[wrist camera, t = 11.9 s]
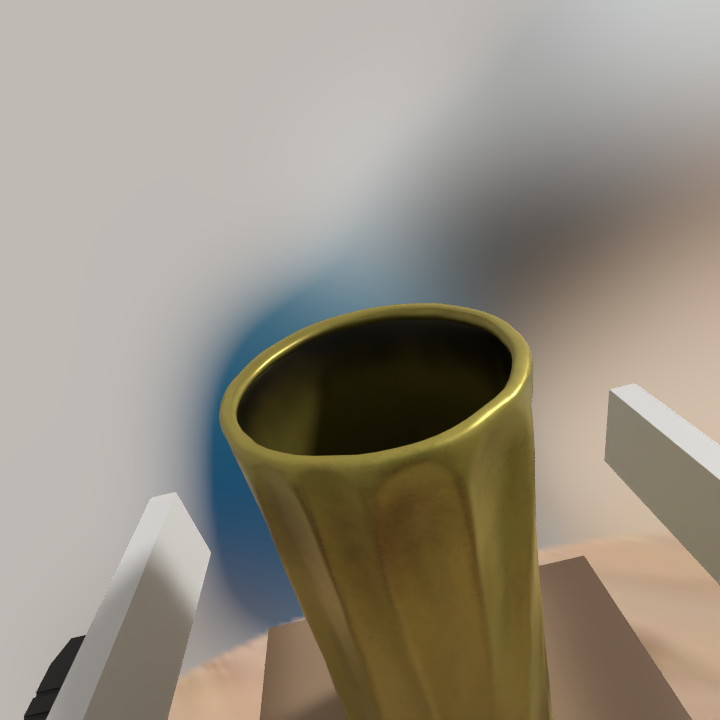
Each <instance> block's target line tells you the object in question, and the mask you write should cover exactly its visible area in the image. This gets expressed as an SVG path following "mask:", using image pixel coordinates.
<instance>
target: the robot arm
mask: <svg viewBox="0 0 720 720" xmlns="http://www.w3.org/2000/svg"><path fill="white" fill-rule="evenodd" d="M605 462H606V463H607V464H608V465H609V466H610V467H611V468H612V469H613V470H614V471H615V472H616V473H617V475H618V476H619V477H620V478H621V479H622V480H623V481H624V482H625V483H626V484H627V485H628V486H629V487H630V489H631V490H632V491H633V492H634V493H635V494H636V495H637V496H638V497H639V498H640V499H641V500H642V502H643V503H645V505H646V506H647V507H648V508H649V509H650V510H651V511H652V512H653V513H654V514H655V516H657V518H658V519H659V520H660V521H661V522H662V523H663V524H664V525H665V526H666V527H667V529H668V530H669V531H670V532H671V533H672V534H673V535H674V536H675V537H676V538H677V539H678V540H679V541H680V543H681V544H682V545H683V546H684V547H685V548H686V549H687V550H688V551H689V552H690V553H691V554H692V556H693V557H694V558H695V559H696V560H697V561H698V562H699V563H700V564H701V565H702V566H703V567H704V568H705V570H706V571H707V572H708V573H709V574H710V575H711V576H712V577H713V578H714V579H715V580H716V581H717V583H718V584H719V585H720V445H718V444H717V443H716V442H714V441H713V440H712V439H710V438H709V437H708V436H706V435H705V434H704V433H702V432H701V431H699V430H698V429H697V428H695V427H694V426H692V425H691V424H690V423H689V422H687V421H686V420H684V419H683V418H682V417H680V416H679V415H678V414H676V413H675V412H674V411H672V410H671V409H669V408H668V407H667V406H665V405H664V404H663V403H661V402H660V401H659V400H657V399H656V398H654V397H653V396H652V395H650V394H649V393H648V392H646V391H645V390H643V389H642V388H641V387H639V386H638V385H637V384H635V383H634V384H630V385H626V386H622V387H617V388H613V389H610V390H609V403H608V418H607V431H606V447H605ZM210 554H211V552H210V550H209V549H208V547H207V545H206V544H205V542H204V540H203V538H202V536H201V535H200V533H199V531H198V530H197V528H196V526H195V524H194V523H193V521H192V519H191V517H190V516H189V514H188V512H187V510H186V509H185V507H184V505H183V504H182V502H181V500H180V498H179V497H178V495H177V493H176V492H174V493H170V494H166V495H161V496H157V497H153V498H151V499H150V501H149V503H148V505H147V507H146V510H145V512H144V514H143V516H142V518H141V520H140V522H139V525H138V526H137V529H136V531H135V533H134V535H133V537H132V539H131V541H130V543H129V546H128V548H127V550H126V552H125V554H124V556H123V558H122V561H121V562H120V565H119V567H118V569H117V571H116V573H115V575H114V577H113V579H112V582H111V583H110V586H109V588H108V590H107V592H106V594H105V596H104V598H103V600H102V603H101V605H100V607H99V609H98V611H97V613H96V615H95V617H94V620H93V622H92V624H91V626H90V628H89V630H88V632H87V634H86V635H84V636H80V637H75V638H71V640H70V641H69V642H68V643H67V645H66V646H65V647H64V648H63V650H62V651H61V652H60V653H59V655H58V656H57V657H56V658H55V660H54V661H53V662H52V663H51V665H50V667H49V669H48V671H47V672H46V674H45V676H44V678H43V680H42V682H41V684H40V686H39V688H38V690H37V692H36V694H37V695H36V697H35V698H33V700H32V702H31V703H30V705H29V707H28V710H27V711H26V713H25V715H24V720H167V719H168V715H169V711H170V707H171V704H172V700H173V696H174V692H175V688H176V684H177V681H178V677H179V673H180V669H181V665H182V661H183V658H184V654H185V650H186V646H187V642H188V638H189V635H190V631H191V627H192V623H193V619H194V615H195V612H196V607H197V604H198V599H199V596H200V592H201V589H202V585H203V581H204V577H205V573H206V569H207V565H208V562H209V557H210Z"/></svg>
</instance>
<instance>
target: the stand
mask: <svg viewBox="0 0 720 720" xmlns="http://www.w3.org/2000/svg"><path fill="white" fill-rule="evenodd" d="M539 579H540V589H541V597H542V604H543V620H544V635H545V646H546V654H547V663H548V673H549V681H550V690H551V701H552V712H553V719H554V720H692V719H691V717H690V716H689V714H688V713H687V711H686V710H685V708H684V707H683V705H682V704H681V702H680V701H679V699H678V698H677V696H676V695H675V693H674V692H673V690H672V689H671V687H670V686H669V684H668V683H667V681H666V679H665V678H664V676H663V675H662V673H661V672H660V670H659V669H658V667H657V666H656V664H655V663H654V661H653V660H652V658H651V657H650V655H649V654H648V652H647V651H646V649H645V648H644V646H643V645H642V643H641V642H640V640H639V639H638V637H637V635H636V634H635V632H634V631H633V629H632V628H631V626H630V625H629V623H628V622H627V620H626V619H625V617H624V616H623V614H622V613H621V611H620V610H619V608H618V607H617V605H616V604H615V602H614V601H613V599H612V598H611V596H610V595H609V593H608V591H607V590H606V588H605V587H604V585H603V584H602V582H601V581H600V579H599V578H598V576H597V575H596V573H595V572H594V570H593V569H592V567H591V566H590V564H589V563H588V561H587V560H586V558H585V557H584V556H581V557H576V558H572V559H568V560H563V561H559V562H555V563H550V564H546V565H542V566H539ZM260 720H346V718H345V715H344V711H343V708H342V705H341V703H340V700H339V698H338V695H337V693H336V690H335V688H334V685H333V682H332V680H331V677H330V674H329V671H328V668H327V666H326V663H325V660H324V658H323V655H322V653H321V651H320V649H319V647H318V644H317V642H316V640H315V638H314V636H313V634H312V631H311V629H310V627H309V625H308V623H307V620H303V621H299V622H294V623H290V624H286V625H281V626H277V627H273V628H269V632H268V642H267V652H266V663H265V673H264V683H263V693H262V703H261V713H260Z"/></svg>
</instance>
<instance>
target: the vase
mask: <svg viewBox="0 0 720 720" xmlns="http://www.w3.org/2000/svg"><path fill="white" fill-rule="evenodd" d="M532 394H533V360H532V355H531V352H530V348H529V346H528V344H527V342H526V341H525V340H524V338H523V337H522V336H521V335H520V334H519V333H518V332H517V331H516V330H515V329H514V328H512V327H511V326H510V325H509V324H508V323H507V322H505V321H503V320H501V319H499V318H498V317H496V316H493V315H490V314H488V313H485V312H482V311H478V310H474V309H470V308H465V307H460V306H453V305H446V304H440V303H415V304H395V305H387V306H380V307H374V308H369V309H364V310H360V311H355V312H351V313H347V314H343V315H339V316H336V317H333V318H329V319H326V320H324V321H321V322H318V323H315V324H312V325H310V326H308V327H305V328H303V329H301V330H299V331H297V332H295V333H293V334H291V335H289V336H288V337H286V338H284V339H282V340H281V341H279V342H278V343H276V344H274V345H272V346H271V347H269V348H268V349H266V350H264V351H263V352H262V353H260V354H259V355H258V356H256V357H255V358H254V359H253V360H252V361H251V362H250V363H249V364H248V365H247V366H246V367H245V368H244V369H243V370H242V371H241V372H240V373H239V374H238V375H237V377H235V378H234V380H233V381H232V382H231V383H230V385H229V386H228V388H227V390H226V392H225V394H224V396H223V399H222V402H221V407H220V413H219V416H220V424H221V428H222V431H223V434H224V435H225V437H226V439H227V441H228V443H229V445H230V447H231V450H232V452H233V454H234V455H235V458H236V460H237V462H238V464H239V466H240V468H241V470H242V472H243V474H244V476H245V479H246V481H247V483H248V485H249V487H250V489H251V491H252V493H253V495H254V498H255V500H256V502H257V504H258V506H259V508H260V510H261V512H262V514H263V516H264V518H265V521H266V524H267V526H268V529H269V531H270V534H271V536H272V539H273V541H274V544H275V546H276V549H277V552H278V554H279V556H280V559H281V562H282V564H283V567H284V569H285V571H286V574H287V576H288V578H289V580H290V582H291V585H292V587H293V589H294V591H295V593H296V596H297V598H298V601H299V603H300V606H301V608H302V611H303V613H304V616H305V618H306V620H307V623H308V625H309V627H310V629H311V631H312V634H313V636H314V638H315V640H316V642H317V644H318V647H319V649H320V651H321V653H322V655H323V658H324V660H325V663H326V666H327V668H328V671H329V674H330V677H331V680H332V682H333V685H334V688H335V690H336V693H337V695H338V698H339V700H340V703H341V705H342V708H343V711H344V715H345V718H346V720H554V719H553V712H552V701H551V690H550V681H549V673H548V663H547V654H546V646H545V635H544V620H543V604H542V597H541V589H540V579H539V564H538V550H537V534H536V504H535V502H536V501H535V500H536V499H535V451H534V450H535V449H534V431H533V418H532V408H531V403H532Z"/></svg>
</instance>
